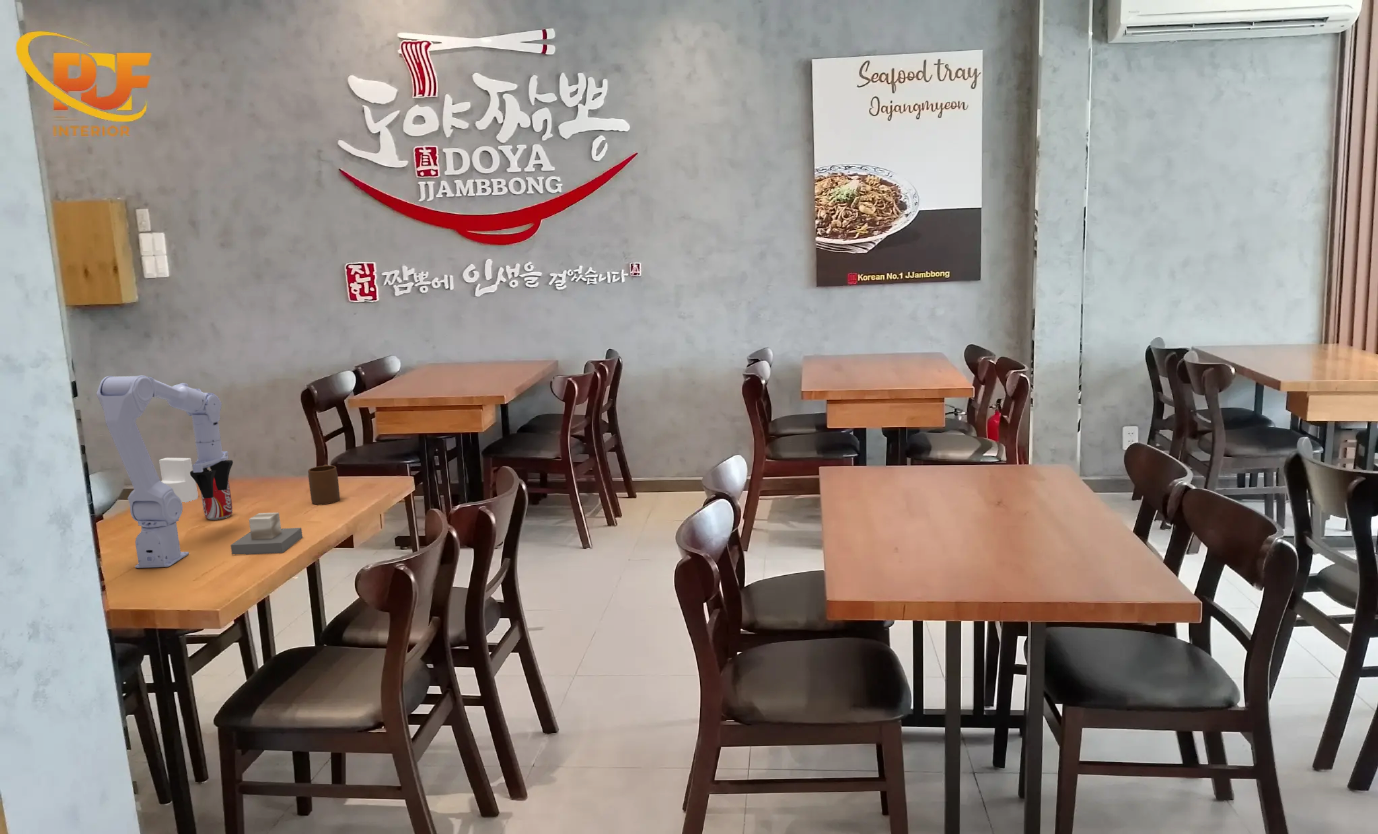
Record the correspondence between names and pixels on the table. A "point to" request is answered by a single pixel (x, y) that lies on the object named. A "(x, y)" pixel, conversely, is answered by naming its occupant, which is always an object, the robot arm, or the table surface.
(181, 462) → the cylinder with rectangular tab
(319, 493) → the mug
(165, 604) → the table surface
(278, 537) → the charcoal block
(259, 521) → the gray block
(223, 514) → the soda can
